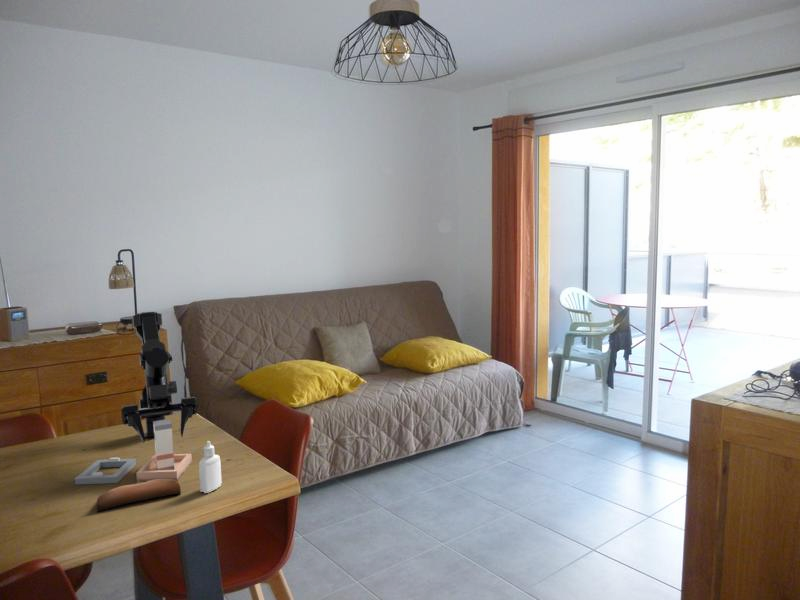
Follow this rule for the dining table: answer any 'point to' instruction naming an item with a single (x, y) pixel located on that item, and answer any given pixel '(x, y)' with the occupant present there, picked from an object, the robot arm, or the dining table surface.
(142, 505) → the dining table surface
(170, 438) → the white rectangular block
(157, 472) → the dish
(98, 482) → the clip frame
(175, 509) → the dining table surface
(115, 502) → the sunglasses case
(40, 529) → the dining table surface
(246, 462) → the dining table surface
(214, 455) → the eye dropper bottle
